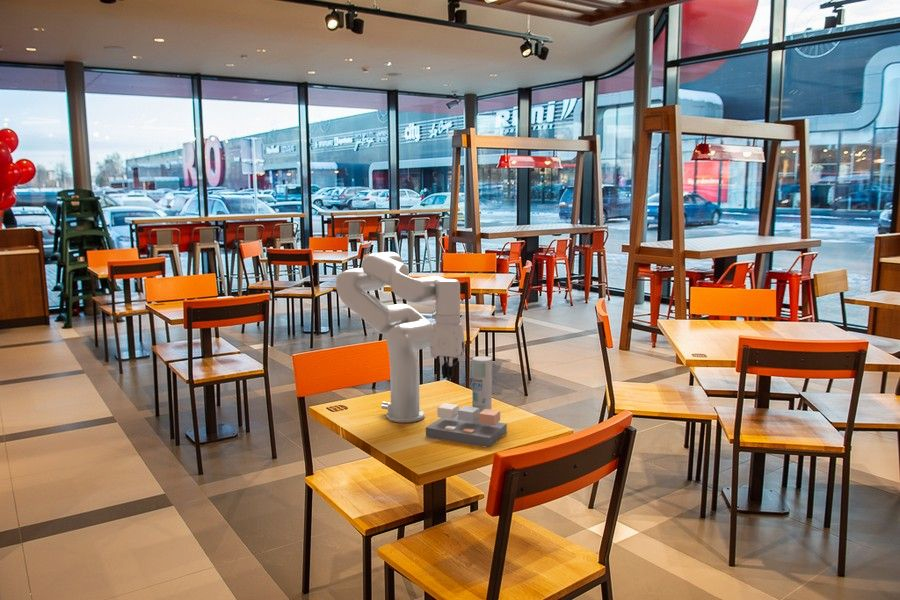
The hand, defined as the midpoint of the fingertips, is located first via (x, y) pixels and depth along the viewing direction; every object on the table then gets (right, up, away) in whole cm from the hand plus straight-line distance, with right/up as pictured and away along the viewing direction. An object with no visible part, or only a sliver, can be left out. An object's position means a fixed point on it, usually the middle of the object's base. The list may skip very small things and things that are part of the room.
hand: (448, 377), depth 214 cm
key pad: (+6, -18, -2) cm, 19 cm away
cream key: (0, -12, +2) cm, 12 cm away
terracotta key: (+13, -13, -4) cm, 19 cm away
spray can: (+11, -15, +15) cm, 24 cm away
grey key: (+6, -13, -1) cm, 14 cm away
